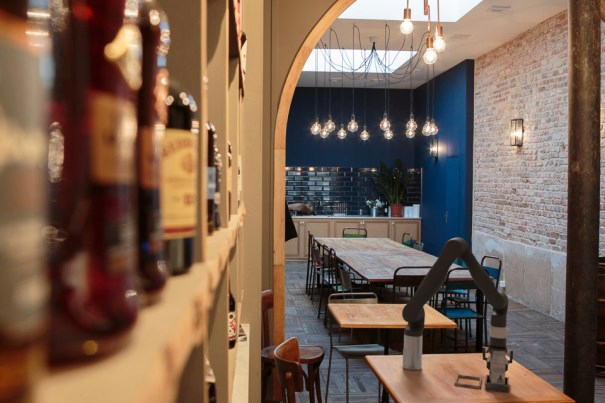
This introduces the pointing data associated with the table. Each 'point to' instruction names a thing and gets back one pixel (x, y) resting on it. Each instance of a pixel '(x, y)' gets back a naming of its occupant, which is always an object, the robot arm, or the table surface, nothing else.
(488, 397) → the table surface
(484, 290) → the robot arm
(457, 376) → the tray frame
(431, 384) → the table surface
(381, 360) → the table surface
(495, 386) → the box
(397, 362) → the table surface
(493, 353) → the coffee box
